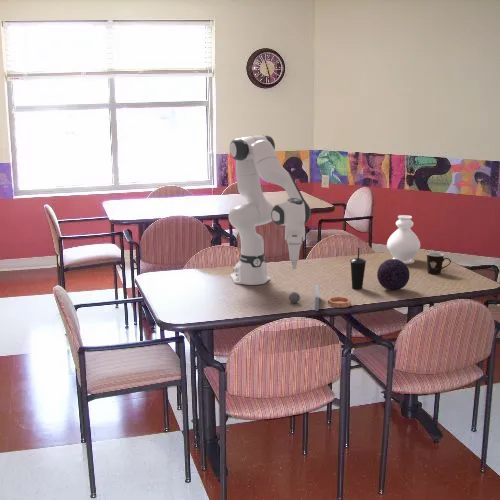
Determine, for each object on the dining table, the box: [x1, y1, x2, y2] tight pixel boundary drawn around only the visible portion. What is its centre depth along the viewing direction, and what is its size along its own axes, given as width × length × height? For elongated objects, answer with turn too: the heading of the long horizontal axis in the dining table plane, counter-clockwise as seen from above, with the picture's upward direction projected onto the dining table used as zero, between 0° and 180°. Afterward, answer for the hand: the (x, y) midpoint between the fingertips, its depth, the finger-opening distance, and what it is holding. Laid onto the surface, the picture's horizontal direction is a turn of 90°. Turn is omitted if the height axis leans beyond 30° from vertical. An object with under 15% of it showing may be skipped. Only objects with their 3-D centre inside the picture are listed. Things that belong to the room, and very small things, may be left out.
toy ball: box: [376, 258, 411, 292], centre depth 332 cm, size 15×15×15 cm
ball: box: [288, 291, 301, 304], centre depth 314 cm, size 5×5×5 cm
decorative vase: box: [386, 214, 421, 265], centre depth 385 cm, size 18×18×25 cm
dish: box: [327, 295, 352, 309], centre depth 313 cm, size 10×10×2 cm
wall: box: [314, 283, 320, 312], centre depth 313 cm, size 20×2×6 cm, turn 175°
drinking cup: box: [349, 247, 367, 291], centre depth 335 cm, size 8×8×20 cm
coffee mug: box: [426, 251, 452, 276], centre depth 361 cm, size 12×9×10 cm
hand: (294, 266), depth 311 cm, fingers open, 8 cm apart
